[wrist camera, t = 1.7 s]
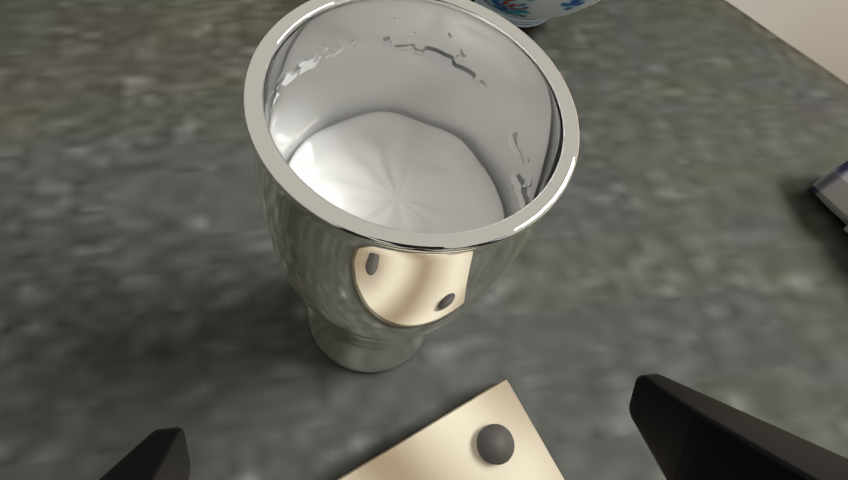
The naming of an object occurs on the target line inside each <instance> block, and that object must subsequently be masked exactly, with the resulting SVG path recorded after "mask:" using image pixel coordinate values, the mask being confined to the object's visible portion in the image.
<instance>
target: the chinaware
mask: <svg viewBox="0 0 848 480" xmlns="http://www.w3.org/2000/svg"><path fill="white" fill-rule="evenodd" d="M474 1H475V2H476V3H477V4H479V5H481V6H484V7H485V8H487V9H489V10H491V11H493V12H495V13H497V14H498V15H500V16H502V17H503V18H505V19H506V20H508V21H509V22H511V23H512V24H514V25H515V26H516V27H533V26H537V25H540V24H542V23H544V22H545V21H546V20H547V19H550V18H557V17H562V16H566V15H569V14H573V13H575V12H578V11H581V10H583V9H585V8H587V7H589V6H591V5H593V4H595V3H597V2H599V1H600V0H474Z"/></svg>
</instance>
